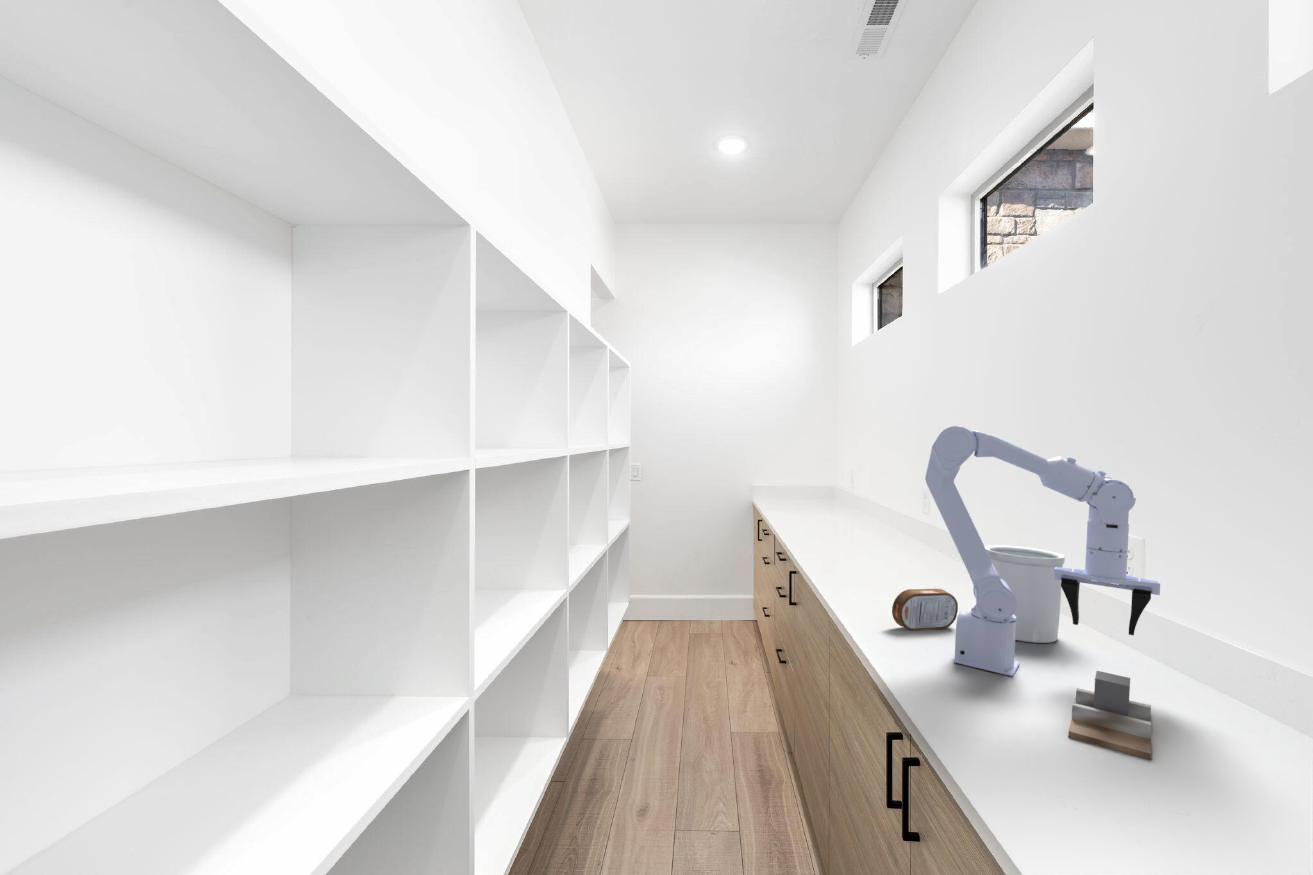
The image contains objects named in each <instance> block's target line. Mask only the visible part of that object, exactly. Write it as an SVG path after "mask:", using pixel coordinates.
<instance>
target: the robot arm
mask: <svg viewBox="0 0 1313 875" xmlns="http://www.w3.org/2000/svg"><path fill="white" fill-rule="evenodd" d="M930 450H931V451H930V455H929V460H928V464H927V469H926V472H925V479H924V480H925V483H926V486H927V488H928V490H929V492H930V494H931V496H932V498H933V501H934V502H935V504H936V507H937V508H938V511H939V513H940V515H941V518H942V520H943V522H944V524H945V526H946V528H947V530H948V532H949V534H950V536H951V538H952V540H953V542H954V544H955V548H956V549H957V552H958V553H959V556H960V558H961V560H962V562H963V564H964V566H965V569H966V571H967V573H968V574H969V577H970V580H971V583H972V586H973V587H972V588H973V589H972V591H973V595H974V598H975V601H976V602H975V603H976V604H975V605H974V606H973V607H971V610H970V611H967V610H960V611H959V612H958V613H957V617H956V625H955V641H954V642H955V643H954V644H955V645H954V659H953V662H954V663H955V664H960V665H964V666H967V667H972V668H976V669H981V670H985V671H989V672H993V673H996V674H1001V675H1005V676H1010V677H1012V676H1014V674H1015V673H1016V671H1017V669H1018V667H1019V666H1020V661H1018V660H1015V651H1016V650H1015V649H1016V640H1015V633H1016V616H1015V615H1014V613H1015V611H1016V608H1017V600H1016V597H1015V595H1014V594H1013V592H1012V591H1011V588H1010V586H1009V584H1008V583H1007V582H1006V580H1004V579H1003V578H1002V577H1001V576H1000V575H999V574H998V573H997V571H996V569H995V567H994V565H993V563H992V561H991V559H990V557H989V555H988V553H987V551H986V549H985V545H984V543H983V541H982V539H981V538H982V537H981V536H980V534H979V532H978V530H977V528H976V526H975V523H974V521H973V519H972V517H971V516H970V513H969V511H968V509H967V507H966V504H965V503H964V501H963V499H962V497H961V494H960V492H959V490H958V488H957V486H956V484H955V479H956V477H957V475H958V474H959V471H960V469H961V466H962V465H963V464H964V463H965V462H966V461H968V459H969V458H970V457H971V456H972V454H973V456H974V457H976V458H990V457H991V458H996V459H998V460H1001V461H1003V462H1006V463H1008V464H1010V465H1012V466H1015V467H1018V468H1020V469H1023V470H1025V471H1027V472H1030V473H1033V474H1035V475H1037V476H1038V478H1039V479H1040V482H1041V484H1042V486H1043V487H1046V488H1048V489H1050V490H1052V491H1055V492H1057V493H1060V494H1062V495H1064V496H1066V497H1067V498H1071V499H1073V500H1076V501H1077V502H1079V503H1082V502H1083V503H1084V502H1086V504H1087V505H1088V519H1087V523H1086V525H1087V526H1086V527H1087V528H1086V545H1085V546H1086V547H1085V562H1084V563H1085V564H1084V566H1085V567H1084V568H1085V569H1079V568H1069V567H1068V568H1067V567H1066V568H1065V567H1063V568H1060V567H1055V569H1054V579H1055V580H1061V591H1063V593H1064V595H1065V598H1066V600H1067V602H1068V605H1069V610H1070V612H1071V618H1072V625H1076V626H1078V625H1079V622H1080V612H1079V606H1080V605H1079V601H1080V600H1079V598H1080V597H1079V596H1080V585H1081V583H1082V584H1089V585H1096V586H1102V587H1108V588H1115V589H1122V590H1128V591H1131V607H1130V617H1129V624H1128V635H1129V636H1135V631H1136V627H1137V624H1138V621H1139V620H1140V617H1141V616H1142V614H1143V612H1144V610H1145V609H1146V607H1147V606H1148V604H1149V603H1150V601H1151V599H1152V595H1157V596H1160V594H1161V581H1160V580H1151V579H1146V578H1141V577H1137V576H1130V575H1127V571H1128V570H1127V569H1128V568H1127V567H1128V550H1129V530H1130V529H1129V528H1130V525H1129V512H1130V511H1131V510H1132V509H1133V508H1134V506H1135V504H1136V500H1137V499H1136V498H1135V497H1134V493H1133V489H1131V488H1130V486H1129V485H1128V484H1127V483H1125V482H1123V481H1121V480H1118V479H1113V478H1111V477H1108V476H1106V472H1104V471H1102V470H1098V471H1095V470H1092V469H1090V468H1087V467H1085V466H1083V465H1080V464H1079V463H1076V462H1077V459H1076V458H1073V457H1070V456H1066V458H1064V457H1062V456H1056V457H1053V458H1050V459H1046V458H1044V457H1042V456H1039V455H1037V454H1035V453H1034V452H1031V451H1028V450H1026V449H1024V448H1022V447H1020V446H1017V445H1015V444H1013V443H1012V442H1009V441H1007V440H1004V439H1003V438H1000V437H998V436H995V435H992V434H988V433H985V432H981V431H978V430H970V429H968V428H966V427H965V426H960V425H953V426H949V427H947V428H945V429H943V430H942V431H941V432H940V433H939V434H938V436H937V437H936V439H935V441H934V443H933V444H932V446H931V449H930Z"/></svg>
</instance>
